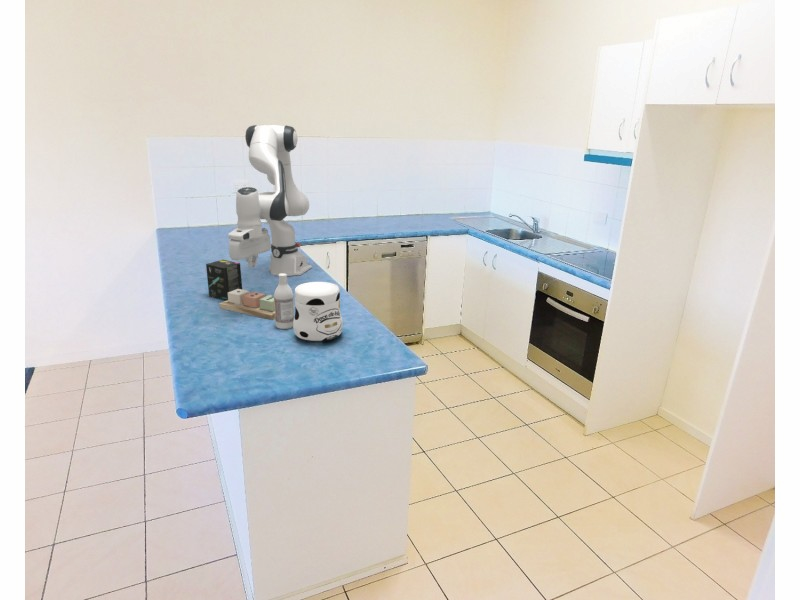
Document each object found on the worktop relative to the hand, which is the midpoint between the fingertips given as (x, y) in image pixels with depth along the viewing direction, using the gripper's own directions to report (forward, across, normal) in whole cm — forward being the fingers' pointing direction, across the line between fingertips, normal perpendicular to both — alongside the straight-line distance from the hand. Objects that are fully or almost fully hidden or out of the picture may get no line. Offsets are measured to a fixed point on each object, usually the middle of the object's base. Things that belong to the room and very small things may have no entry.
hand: (252, 266), depth 208 cm
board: (+18, 0, 0) cm, 18 cm away
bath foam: (+18, +8, +21) cm, 29 cm away
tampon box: (+18, -7, -21) cm, 29 cm away
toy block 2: (+16, 0, 0) cm, 16 cm away
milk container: (+18, +10, +37) cm, 42 cm away
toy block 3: (+16, 0, +8) cm, 18 cm away
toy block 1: (+16, 0, -8) cm, 18 cm away
